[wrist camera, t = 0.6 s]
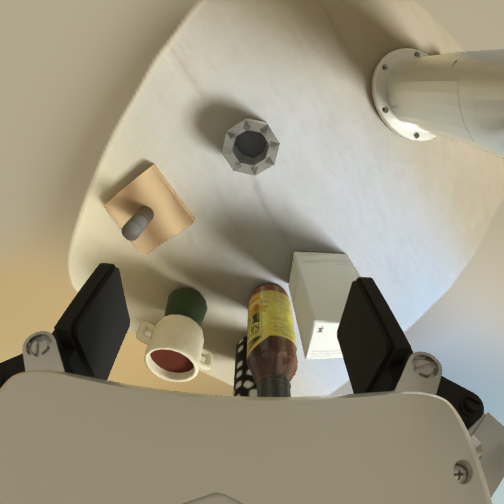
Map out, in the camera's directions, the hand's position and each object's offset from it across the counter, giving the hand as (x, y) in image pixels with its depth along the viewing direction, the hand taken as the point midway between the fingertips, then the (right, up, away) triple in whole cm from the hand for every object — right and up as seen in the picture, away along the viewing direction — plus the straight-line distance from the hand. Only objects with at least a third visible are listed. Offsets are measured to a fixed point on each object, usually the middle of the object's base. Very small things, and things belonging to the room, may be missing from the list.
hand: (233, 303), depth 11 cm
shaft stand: (-13, +8, +26) cm, 30 cm away
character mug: (-9, -6, +34) cm, 35 cm away
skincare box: (+10, 0, +30) cm, 32 cm away
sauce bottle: (+3, -5, +33) cm, 34 cm away
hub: (+1, +15, +22) cm, 27 cm away
